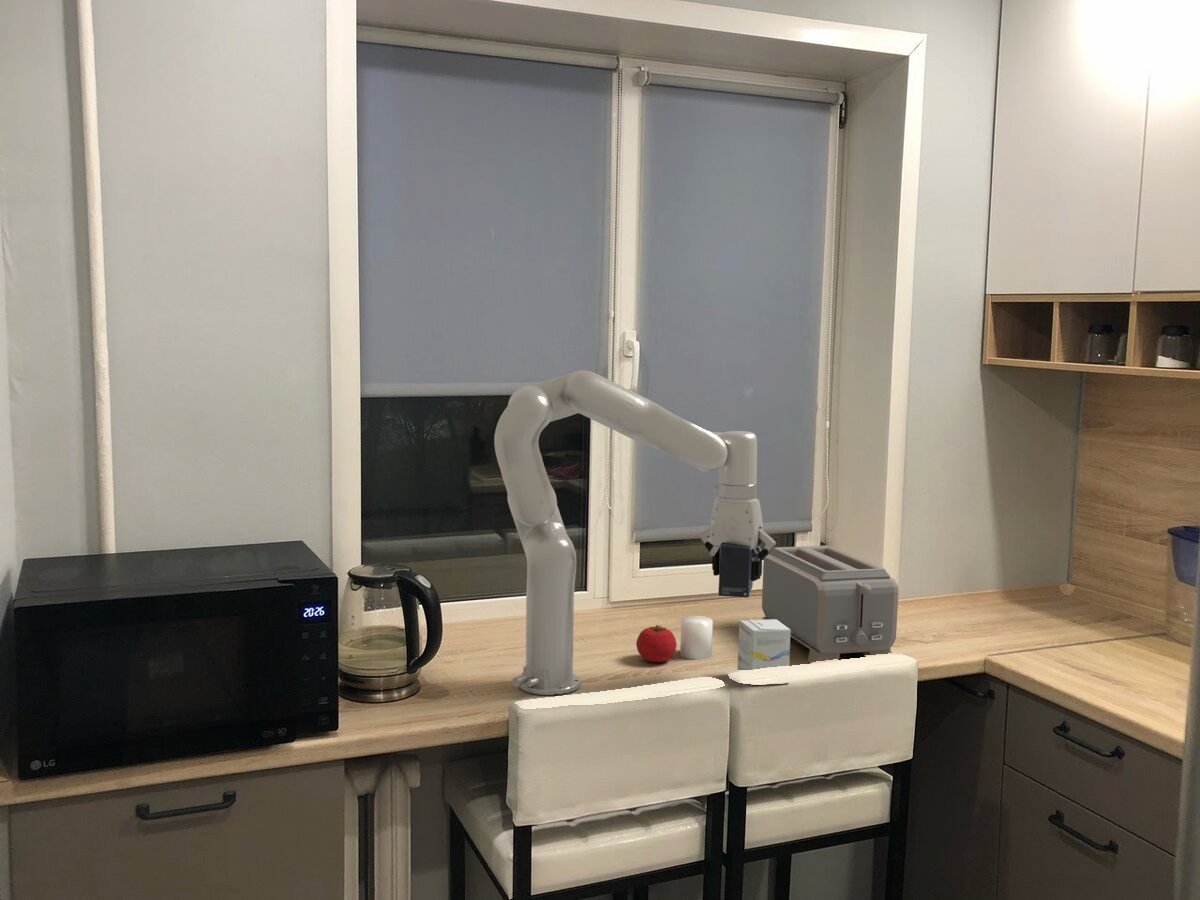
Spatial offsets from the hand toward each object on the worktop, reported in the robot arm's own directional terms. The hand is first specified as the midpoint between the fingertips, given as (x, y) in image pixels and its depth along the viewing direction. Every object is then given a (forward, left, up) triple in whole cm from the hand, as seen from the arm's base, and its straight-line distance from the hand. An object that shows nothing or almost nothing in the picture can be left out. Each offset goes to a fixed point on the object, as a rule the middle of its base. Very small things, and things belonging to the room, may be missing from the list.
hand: (736, 576), depth 207 cm
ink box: (+4, -5, -22) cm, 23 cm away
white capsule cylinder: (+10, +14, -22) cm, 28 cm away
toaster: (+35, -7, -22) cm, 42 cm away
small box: (0, 0, -3) cm, 3 cm away
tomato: (+1, +19, -22) cm, 29 cm away
